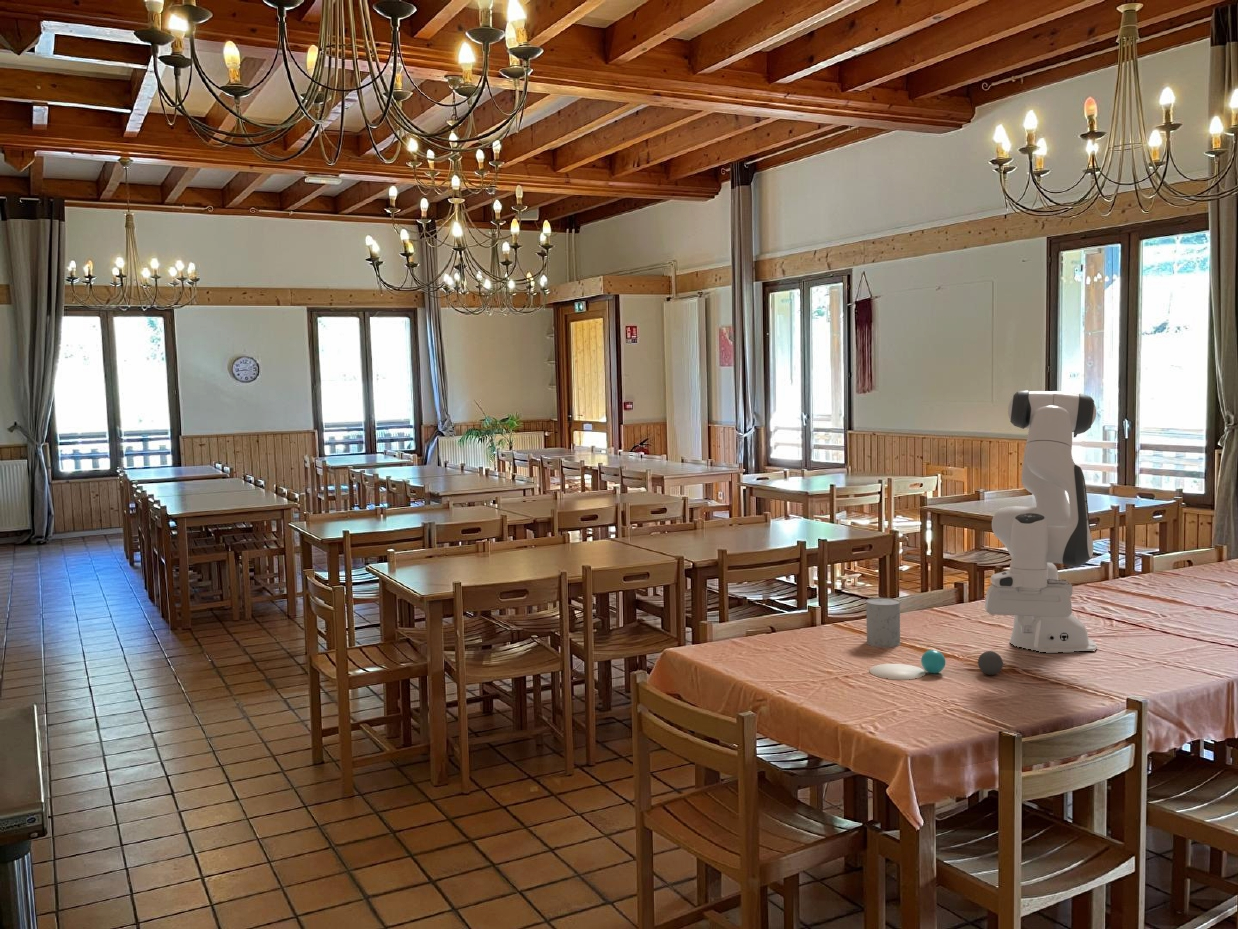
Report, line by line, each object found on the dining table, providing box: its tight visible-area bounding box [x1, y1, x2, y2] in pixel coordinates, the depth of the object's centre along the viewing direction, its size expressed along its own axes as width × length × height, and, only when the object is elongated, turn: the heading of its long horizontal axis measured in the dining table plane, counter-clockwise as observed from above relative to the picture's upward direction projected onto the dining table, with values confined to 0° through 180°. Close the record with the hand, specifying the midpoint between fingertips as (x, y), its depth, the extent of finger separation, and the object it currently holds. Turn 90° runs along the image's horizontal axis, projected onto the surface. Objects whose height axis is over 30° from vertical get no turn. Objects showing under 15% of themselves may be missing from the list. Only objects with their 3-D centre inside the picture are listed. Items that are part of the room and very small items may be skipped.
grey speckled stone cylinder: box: [865, 597, 901, 649], centre depth 289 cm, size 10×10×12 cm
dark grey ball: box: [977, 650, 1004, 676], centre depth 255 cm, size 6×6×6 cm
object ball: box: [920, 649, 946, 674], centre depth 258 cm, size 6×6×6 cm
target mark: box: [869, 663, 926, 681], centre depth 260 cm, size 14×14×1 cm
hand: (1027, 633), depth 252 cm, fingers closed
